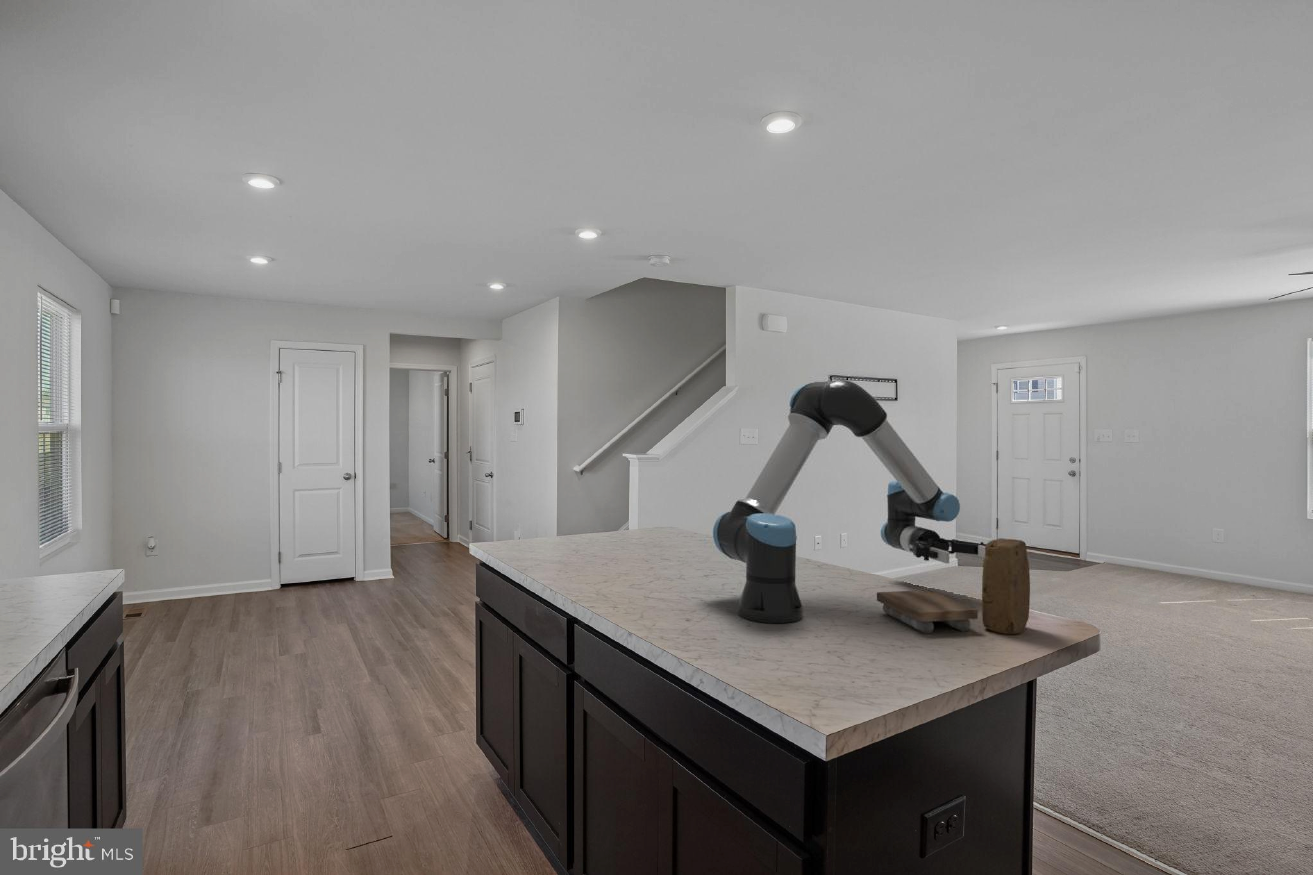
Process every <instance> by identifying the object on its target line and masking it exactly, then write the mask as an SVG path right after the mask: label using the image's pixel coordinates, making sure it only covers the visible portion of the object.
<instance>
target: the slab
mask: <svg viewBox="0 0 1313 875" xmlns="http://www.w3.org/2000/svg"><path fill="white" fill-rule="evenodd" d="M876 601H877V602H878V603H881V604H883V605H882V610H883V613H884V614H887V615H889V616H890V617H893V618H895V619H896V620H898V621H900V622H902V623H904V624H907V625H908V626H909V627H911V628H914V629H916V630H917V631H919V632H921V633H923V634H926V635H927V634H930V633H932V632H933V631H934V627H935V626H934V622H942V623H944V624H945V625H947V626H950V627H952V628H953V629H954V628H955V629H956V630H958V631H961V632H967V631H969V629H970V628H971V622H970V620H978V616H979V615H978V609H977V608H974V607H972V606H969V605H967V604H965V603H963V602H960V601H957V600H955V599H952V598H949V597H948V596H946V595H945V596H944V595H942V594H940V593H937V592H935V591H932V590H930V589H925V590H924V589H922V590H904V591H903V590H901V591H880V592H879V591H878V592H876Z"/></svg>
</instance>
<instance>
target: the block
mask: <svg viewBox="0 0 1313 875" xmlns="http://www.w3.org/2000/svg"><path fill="white" fill-rule="evenodd" d="M985 544H986V546H985V558H983V560H982V561H983V564H982V576H981V579H982V580H981V581H982V583H981V588H982V589H981V614H982V625H983V627H984V628H985V629H986V630H989V631H992V632H995V633H998V634H1002V635H1020V634H1021V633H1023V632H1024V630H1025V629H1026V626H1027V623H1028V622H1029V615H1030V606H1031V605H1030V600H1031V597H1030V596H1031V578H1030V565H1029V564H1030V563H1029V559H1028V555H1027V552H1028V550H1027V545H1026V542H1025V541H1024V540H1020V539H1012V538H1011V539H1010V538H997V539H992V540H990V541H988V542H987V543H985Z"/></svg>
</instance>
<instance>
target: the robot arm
mask: <svg viewBox="0 0 1313 875" xmlns="http://www.w3.org/2000/svg"><path fill="white" fill-rule="evenodd" d="M789 407H790V409H789V413H788V416H787V420H788V422H789V425H788V427H787V429H786V430H785V432H784V433H783V435H782V437H781V439H780V440H779V441H778V444H777V445H776V446H775V448H774V450H773V452H772V454H771V455H770V456H769V458H768V460H767V462H766V463H765V465H764V467H763V468H762V469H761V472H760V474H759V475H758V477H757V478H756V480H755V481H754V483H753V485H752V487H751V489H750V490H749V491H748V492H747V493H748V494H747V495H746V496H745V497H744V498H742V499H741V498H740V499H738V500H737V501H736V502H735V503H734V505H733V506H732V508H731V510H730V511H727V512H723V513H722V514H721V515H720V516H719V517H718V518H717V519H716V521H715V523H714V525H713V529H712V537H713V542H714V544H715V547H716V549H718V551H719V552H721V554H723V555H725V556H726V557H728V559H732V560H735V561H736V560H737V561H739V562H742V563H745V564H746V565H745V572H746V574H745V578H746V579H745V584H744V586H743V589H742V592H741V596H740V599H739V602H738V615H739V616H741V617H742V618H743V619H746V620H749V621H753V622H757V623H758V622H759V623H765V624H787V623H793V622H797V621H799V620H801V619H802V618H803V614H804V610H803V609H804V608H803V603H802V600H801V597H800V594H799V592H798V591H799V590H798V588H797V585H796V573H797V572H796V571H797V570H796V566H797V563H796V561H797V557H796V556H797V553H796V552H797V550H796V549H797V538H798V537H797V531H796V530H797V529H796V524H795V522H794V521H793V520H792V519H790V518H789V517H786V516H783V515H778V514H776V513H777V511H778V510H779V508H780V507H781V504H782V503H783V501H784V500H785V497H786V496H787V494H788V493H789V490H790V489H791V487H792V486H793V484H794V482H795V481H796V478H797V477H798V475H799V474H800V472H801V470H802V469H803V466H804V465H805V463H806V462H807V460H808V458H809V457H810V455H811V453H812V452H813V450H814V448H815V446H816V444H817V443H818V441H821V440H825V439H826V438H827V437H828V435H829V434H830V433H831V431H832V429H833V427H835V426H843V427H846V428H847V429H848V430H849V431H851V432H852V434H853V436H855V437H857V438H862V439H863V441H864V442H865V443H866V445H867V446H868V447H869V448H870V449H871V451H872V452H873V453H874V455H875V456H876V457H877V458H878V459H879V461H880V462H881V463H882V464H883V466H884V467H885V468H886V469H887V471H888V472H889V474H891V476H892V477H893V478H894V479H895V480H894V481H890V482H889V483H888V485H887V486H888V487H887V495H886V496H887V497H886V498H887V499H886V500H887V521H885V523H884V524H883V525H882V527H881V529H880V537H881V540H882V541H883V542H884V544H886V545H888V546H890V547H892V548H894V549H898V550H902V551H905V552H908V553H912V554H913V556H915V557H916V558H922V557H923V561H930V559H931V560H934V561H938V562H941V563H943V564H950V554H951V555H953V554H956V553H957V554H958V553H959V554H968V555H977V556H978V557H981V558H983V559H984V558H985V546H986V544H987V543H984V542H983V541H981V542H980V543H978V542H972V541H964V540H959V539H955V538H953V539H945V538H943V537H941V536H940V534H938V533H937V532H936V531H935V530H932V529H928V528H926V527H925V528H924V527H921V526H917V525H916V518H920V519H925V520H932V521H936V522H946V523H947V522H948V523H949V522H952V521H954V520H956V518H957V517H958V516H959V513H960V508H961V504H960V500H959V499H958V497H957V496H956V495H954V494H951V493H949V492H944V491H942V489H941V488H940V487H939V486H938V484H937V483H936V481H935V480H934V479H933V478H932V476H931V475H930V474H929V473H928V472H927V470H926V469H925V467H924V466H923V465H922V464H921V462H920V460H918V459H917V457H916V456H915V455H914V453H913V452H912V451H911V449H910V448H909V447H908V446H907V444H906V443H905V442H904V441H903V439H902V438H901V437H900V435H899V433H897V431H896V430H895V428H893V426H892V425H891V424H890V422H889V421H888V413H887V412H886V411H885V409H884V408H883V406H882V405H881V404H880V403H879V402H878V401H877V399H876V398H875V397H873V396H872V395H871V393H869V392H868V391H867V390H866V389H864V388H863V387H862V386H860V385H859V384H857V383H855V382H853V381H849V380H845V379H838V380H829V381H812V382H809V383H805V384H803V385H801V386H799V387H798V388H796V390H795V391H794V393H793V394H792V395H791V397H790V401H789ZM950 548H951V549H950Z"/></svg>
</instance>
